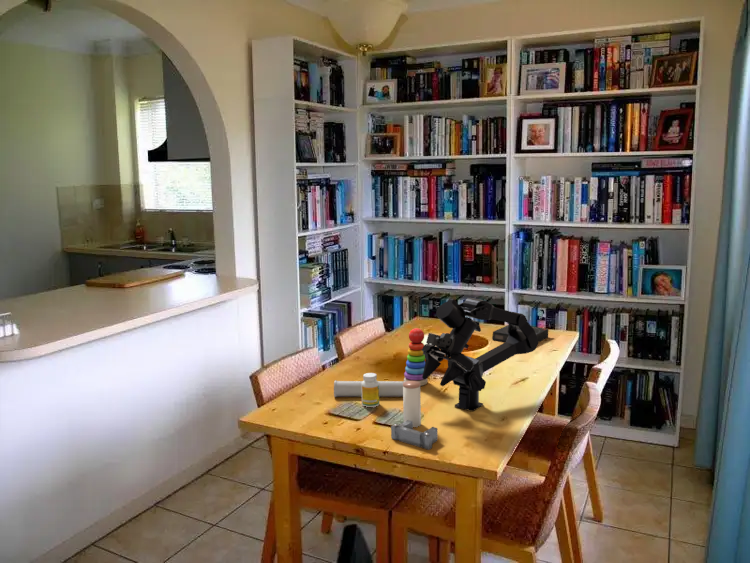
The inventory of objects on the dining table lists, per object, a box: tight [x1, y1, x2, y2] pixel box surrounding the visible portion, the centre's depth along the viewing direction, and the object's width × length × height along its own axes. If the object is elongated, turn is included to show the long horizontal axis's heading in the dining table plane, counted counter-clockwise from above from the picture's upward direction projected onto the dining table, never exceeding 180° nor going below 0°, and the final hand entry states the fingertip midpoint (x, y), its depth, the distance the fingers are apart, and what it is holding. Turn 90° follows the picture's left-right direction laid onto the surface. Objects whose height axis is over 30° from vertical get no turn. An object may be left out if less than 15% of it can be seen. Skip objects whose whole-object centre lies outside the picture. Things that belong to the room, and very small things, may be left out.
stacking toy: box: [403, 327, 428, 387], centre depth 216 cm, size 8×8×19 cm
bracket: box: [390, 420, 439, 450], centre depth 173 cm, size 6×12×4 cm, turn 52°
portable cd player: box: [491, 324, 549, 343], centre depth 268 cm, size 16×17×4 cm
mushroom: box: [402, 381, 422, 428], centre depth 183 cm, size 5×5×12 cm
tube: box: [333, 380, 406, 398], centre depth 207 cm, size 5×5×25 cm
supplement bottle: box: [361, 372, 380, 408], centre depth 198 cm, size 5×5×10 cm
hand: (432, 382), depth 187 cm, fingers open, 9 cm apart
